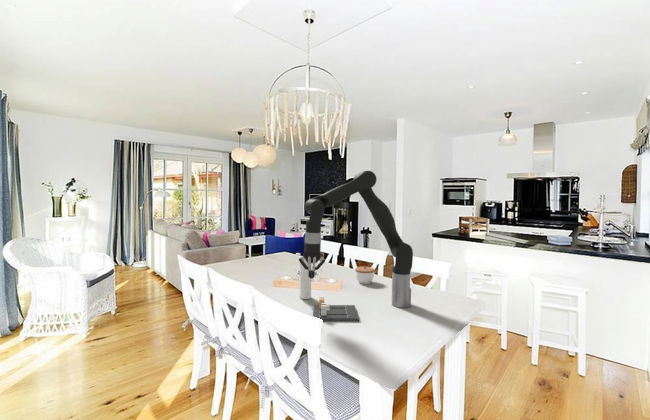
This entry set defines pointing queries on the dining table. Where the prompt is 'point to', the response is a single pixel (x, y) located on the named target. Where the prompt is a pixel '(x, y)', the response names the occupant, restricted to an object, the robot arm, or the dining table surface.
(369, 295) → the dining table surface
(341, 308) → the console
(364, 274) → the lidded bowl
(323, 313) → the white banded fader cap
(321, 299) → the fader orange
